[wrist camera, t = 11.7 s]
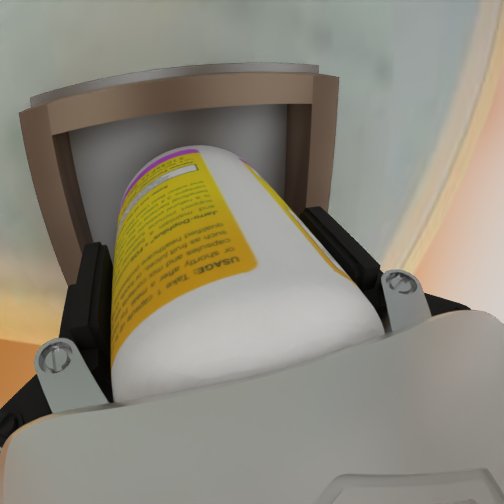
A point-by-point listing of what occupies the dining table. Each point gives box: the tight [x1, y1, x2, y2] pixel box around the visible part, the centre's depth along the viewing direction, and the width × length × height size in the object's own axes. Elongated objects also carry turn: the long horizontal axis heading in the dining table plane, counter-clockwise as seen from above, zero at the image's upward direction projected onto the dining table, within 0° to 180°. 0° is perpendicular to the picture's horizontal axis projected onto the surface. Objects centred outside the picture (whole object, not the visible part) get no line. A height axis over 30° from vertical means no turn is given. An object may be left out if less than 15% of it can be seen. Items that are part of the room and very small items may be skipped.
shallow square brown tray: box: [19, 63, 339, 287], centre depth 15 cm, size 13×13×4 cm
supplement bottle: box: [111, 145, 385, 402], centre depth 9 cm, size 7×7×13 cm
